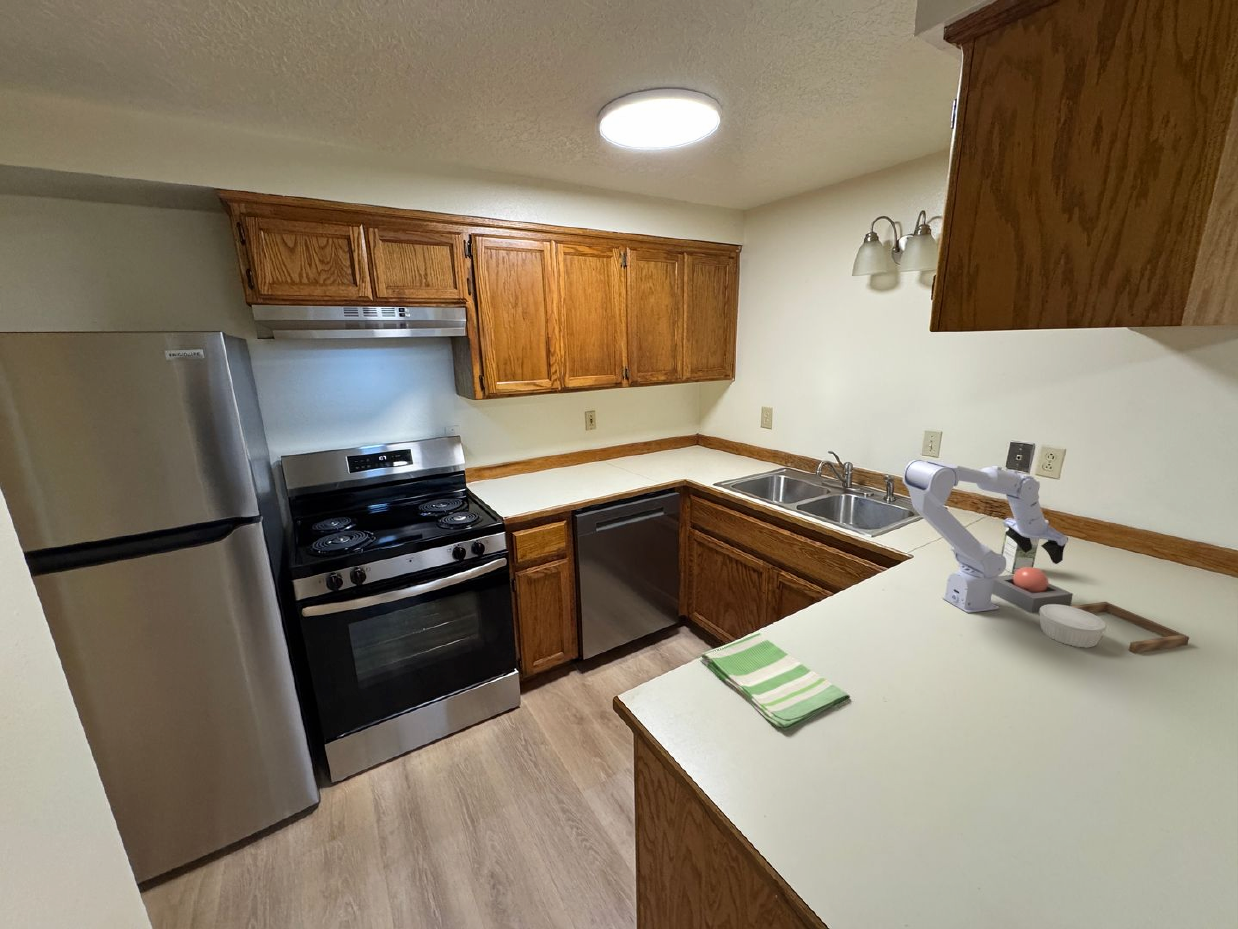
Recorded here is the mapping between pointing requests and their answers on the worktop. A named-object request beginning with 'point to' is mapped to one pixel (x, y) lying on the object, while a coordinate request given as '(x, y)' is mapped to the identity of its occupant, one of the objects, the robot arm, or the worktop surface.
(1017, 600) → the base
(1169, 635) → the bent wooden slat
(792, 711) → the dish towel
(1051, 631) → the ramekin
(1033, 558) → the syrup box
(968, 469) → the robot arm
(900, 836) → the worktop surface
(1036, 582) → the salmon pink ball
